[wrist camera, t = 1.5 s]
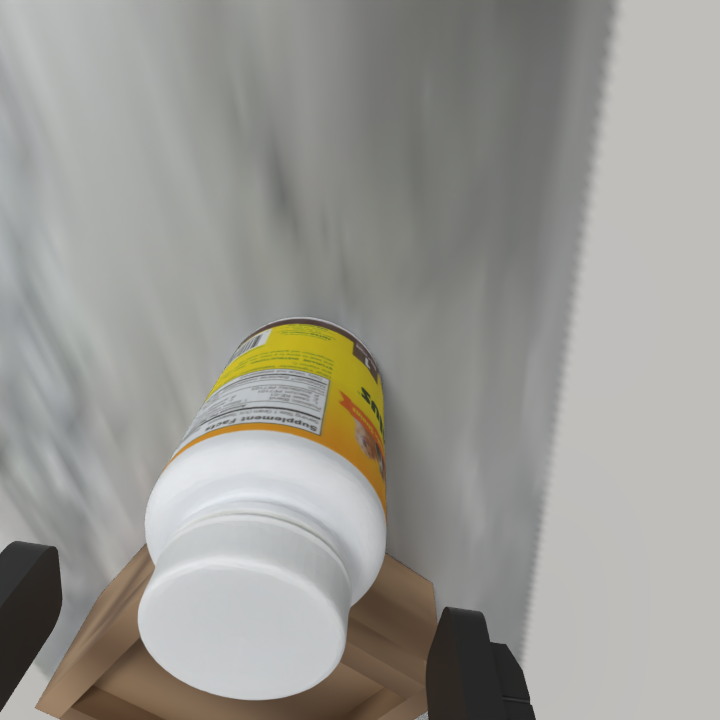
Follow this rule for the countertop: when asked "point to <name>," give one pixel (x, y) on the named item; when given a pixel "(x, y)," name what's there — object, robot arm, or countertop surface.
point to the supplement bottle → (269, 516)
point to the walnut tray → (236, 716)
